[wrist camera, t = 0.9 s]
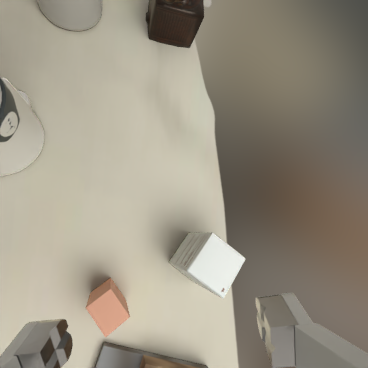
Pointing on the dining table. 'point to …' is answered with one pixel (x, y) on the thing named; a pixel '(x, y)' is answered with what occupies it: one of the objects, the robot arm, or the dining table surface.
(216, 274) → the supplement box
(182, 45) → the manual coffee grinder
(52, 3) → the cylinder vase
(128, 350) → the build plinth
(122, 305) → the block
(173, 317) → the dining table surface
